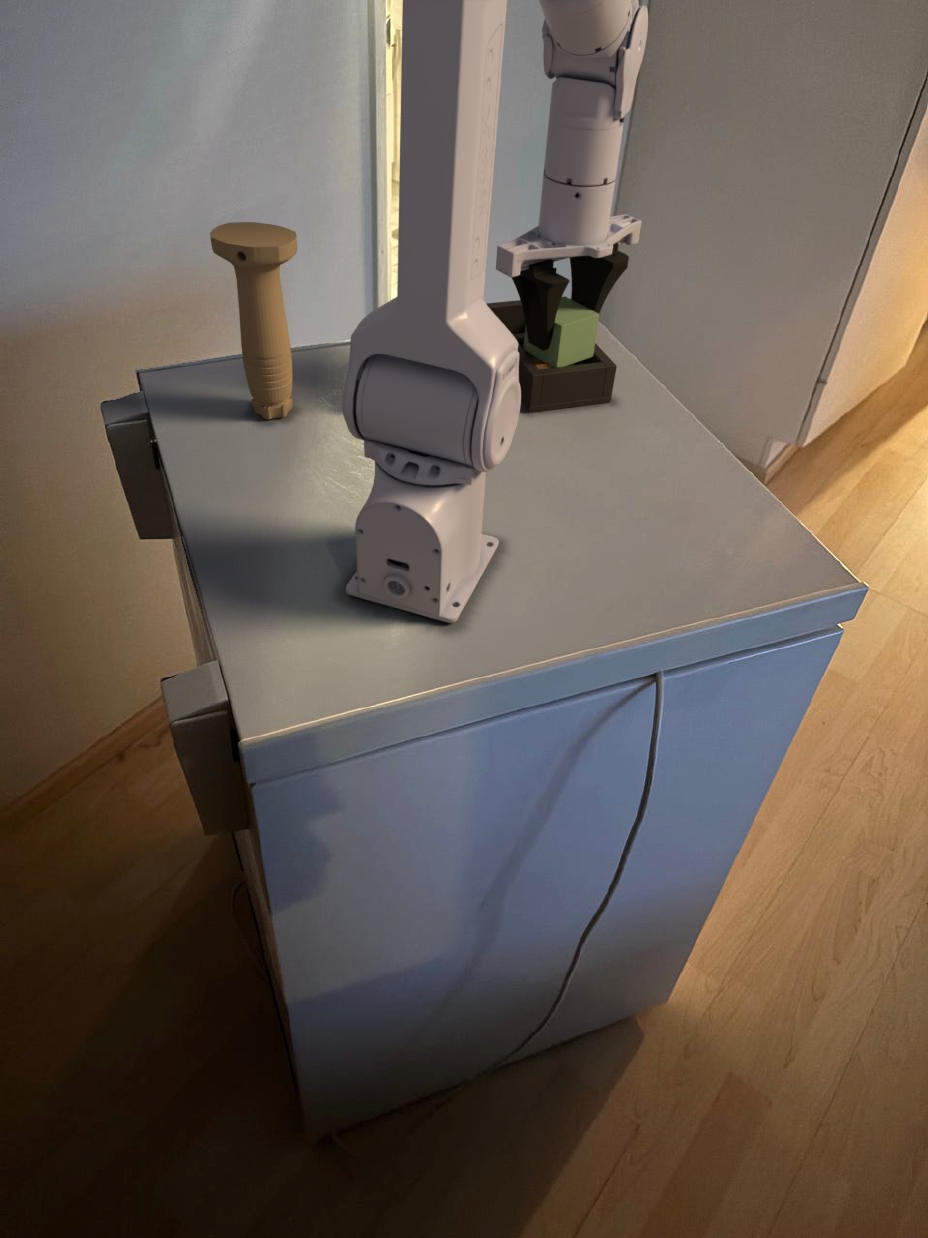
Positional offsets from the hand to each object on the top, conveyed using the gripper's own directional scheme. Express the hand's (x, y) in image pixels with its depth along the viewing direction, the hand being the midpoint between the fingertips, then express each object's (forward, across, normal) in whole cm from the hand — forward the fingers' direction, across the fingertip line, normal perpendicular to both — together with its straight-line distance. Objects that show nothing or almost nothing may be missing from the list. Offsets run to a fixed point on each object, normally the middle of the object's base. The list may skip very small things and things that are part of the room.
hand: (559, 338), depth 80 cm
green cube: (+1, 0, 0) cm, 1 cm away
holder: (+5, +1, +3) cm, 6 cm away
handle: (+5, -24, +10) cm, 26 cm away
